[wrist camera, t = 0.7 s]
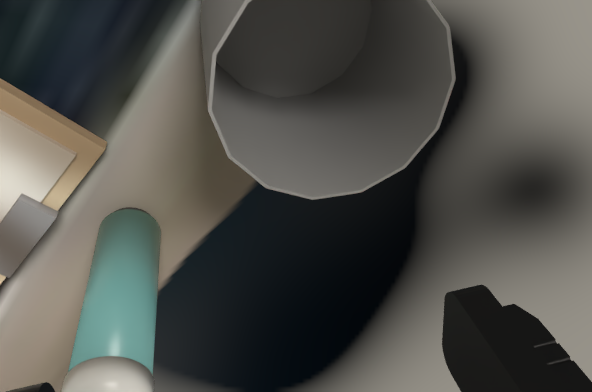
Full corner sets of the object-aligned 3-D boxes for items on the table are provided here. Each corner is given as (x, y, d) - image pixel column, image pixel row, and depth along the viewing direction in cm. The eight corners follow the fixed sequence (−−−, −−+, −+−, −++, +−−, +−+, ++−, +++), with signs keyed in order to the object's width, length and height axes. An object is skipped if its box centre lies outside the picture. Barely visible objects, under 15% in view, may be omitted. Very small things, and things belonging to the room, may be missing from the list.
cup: (162, 11, 25) (151, 95, 16) (291, -128, 22) (352, -111, 14) (283, 124, 29) (322, 234, 21) (401, 16, 27) (497, 93, 19)
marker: (121, 191, 29) (88, 374, 19) (175, 221, 31) (170, 403, 21) (86, 233, 31) (38, 427, 20) (140, 259, 32) (120, 451, 22)
